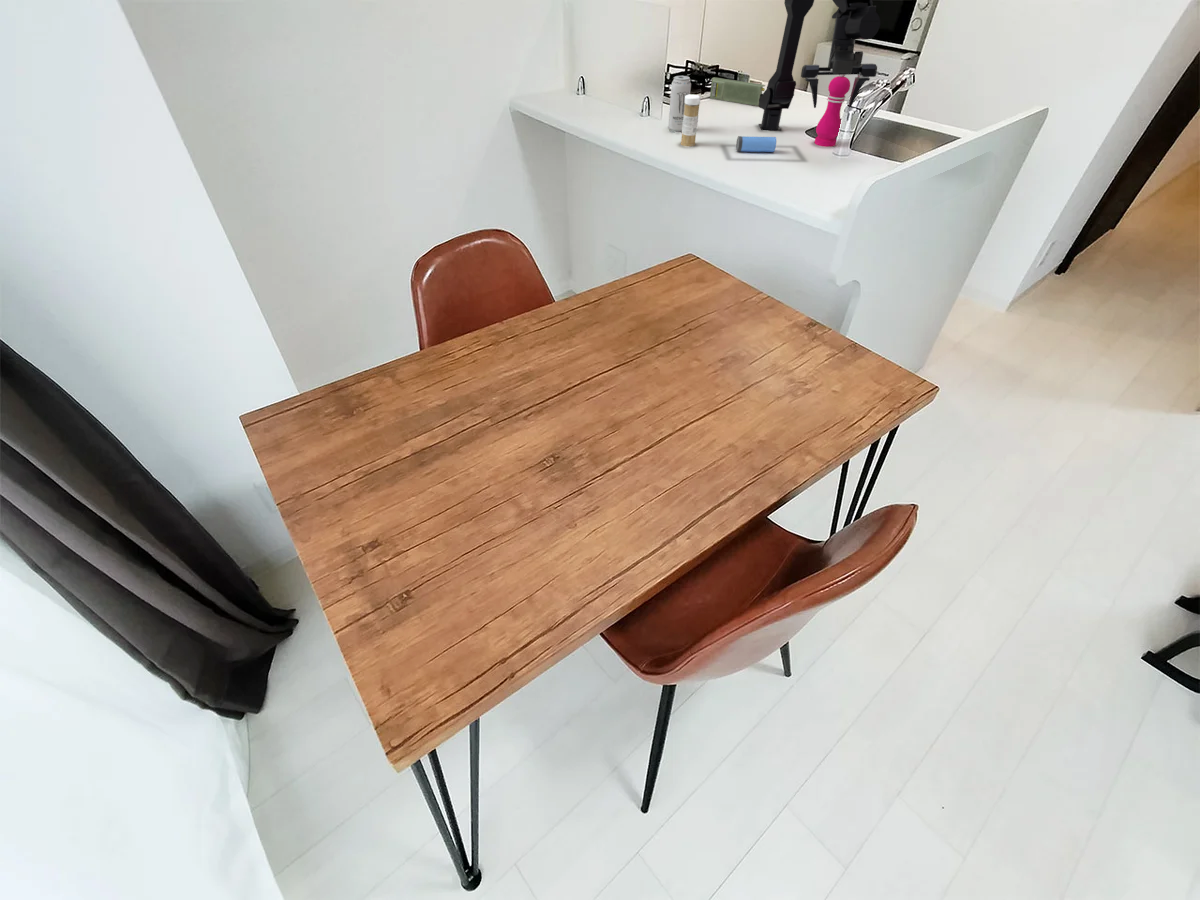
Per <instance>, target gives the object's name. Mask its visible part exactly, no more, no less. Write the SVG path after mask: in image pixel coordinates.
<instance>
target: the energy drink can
mask: <svg viewBox="0 0 1200 900" xmlns="http://www.w3.org/2000/svg"><path fill="white" fill-rule="evenodd" d="M670 88H671V89H670V97H669V111H668V121H667V128H668V130H669V132H671V133H674V134H675V133H679V132H681V133H682V126H683V118H684V109H685V96H686V95H690V94H691V89H692V83H691V78H690V76H688V75H676V76H674V77H673V80H672V82H671V86H670Z"/></svg>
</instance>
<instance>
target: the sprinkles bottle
mask: <svg viewBox="0 0 1200 900" xmlns="http://www.w3.org/2000/svg"><path fill="white" fill-rule="evenodd" d="M701 98H702V97H701V95H699V94H691V93H690V95H686V96H685V109H684V118H683V126H682V132H681V138H680V139H681V140H680V145H681V146H683V147H694V146H696V137H697V131H698V122H699V111H700V104H701Z"/></svg>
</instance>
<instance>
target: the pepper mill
mask: <svg viewBox="0 0 1200 900" xmlns="http://www.w3.org/2000/svg"><path fill="white" fill-rule="evenodd" d="M827 88H828V89H827V90H828V93H829V94H827V99H826V100H827V106H826V109H825V111H824V113H823V115H822V117H821V118H820V120H819V121H818V123H817V125H816V127H815V132H816V135H817V136H816V137H815V140H814V144H815V145H816V146H820V147H824V148H832V147H835V146H836V143H837V139H836V138H837V137H838V136H839V135H838V132H839V128H840V124H841V125H842V121H841V110H842V106H843V104H844V102H845V99H846V94H848V92H849V91H850V89H851V81H850V79H849V78H848V77H846V75H836V76H834V77H833V78H832V79H831V80H830V81H829V84H828V87H827Z"/></svg>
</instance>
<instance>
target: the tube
mask: <svg viewBox="0 0 1200 900" xmlns="http://www.w3.org/2000/svg"><path fill="white" fill-rule="evenodd" d="M735 142H736V143H735V152H737V153H740V152H743V153H744V152H747V153H749V152H750V153H752V152H753V153H774V152H775V151H776V147H777V137H776V136H744V135H743V136H742V135H738V136H737V138H736V141H735Z"/></svg>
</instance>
